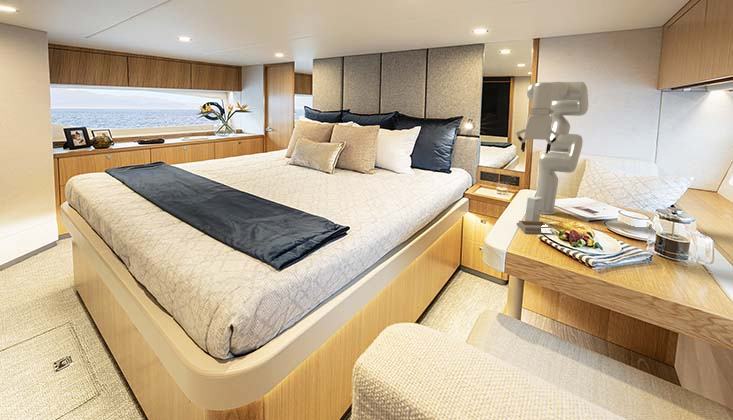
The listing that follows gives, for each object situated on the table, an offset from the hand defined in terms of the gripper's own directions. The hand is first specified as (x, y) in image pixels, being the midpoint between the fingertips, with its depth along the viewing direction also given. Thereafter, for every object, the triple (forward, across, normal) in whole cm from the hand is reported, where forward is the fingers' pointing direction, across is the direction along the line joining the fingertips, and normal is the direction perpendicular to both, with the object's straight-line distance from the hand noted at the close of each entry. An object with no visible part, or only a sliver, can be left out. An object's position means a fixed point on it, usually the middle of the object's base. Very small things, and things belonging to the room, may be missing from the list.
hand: (534, 152), depth 161 cm
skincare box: (+35, -2, -10) cm, 36 cm away
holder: (+35, -4, +2) cm, 35 cm away
